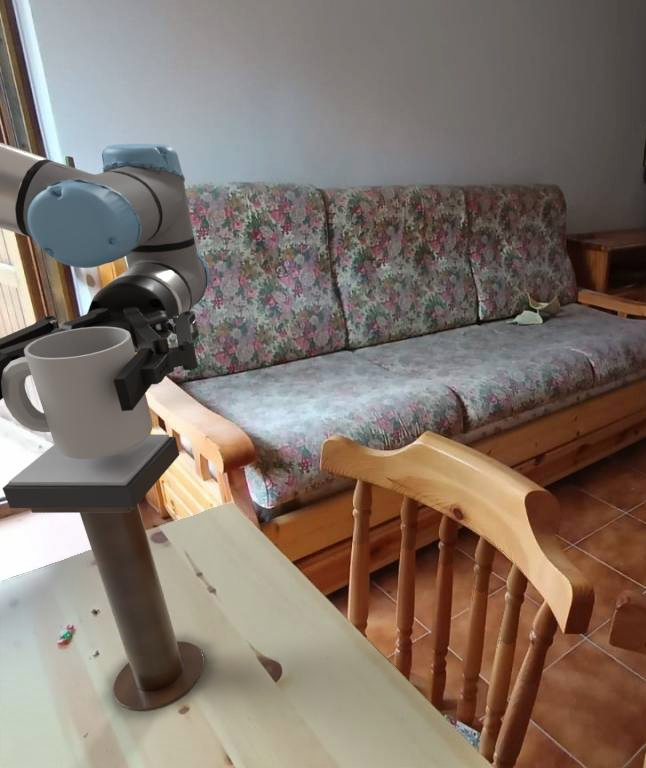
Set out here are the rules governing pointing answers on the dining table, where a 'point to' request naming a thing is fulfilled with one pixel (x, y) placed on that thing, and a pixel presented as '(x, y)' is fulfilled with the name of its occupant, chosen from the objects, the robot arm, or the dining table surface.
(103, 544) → the stand
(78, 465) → the scale
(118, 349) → the cup
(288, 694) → the dining table surface
